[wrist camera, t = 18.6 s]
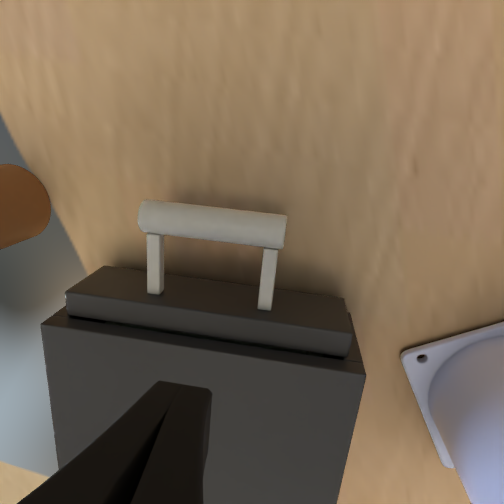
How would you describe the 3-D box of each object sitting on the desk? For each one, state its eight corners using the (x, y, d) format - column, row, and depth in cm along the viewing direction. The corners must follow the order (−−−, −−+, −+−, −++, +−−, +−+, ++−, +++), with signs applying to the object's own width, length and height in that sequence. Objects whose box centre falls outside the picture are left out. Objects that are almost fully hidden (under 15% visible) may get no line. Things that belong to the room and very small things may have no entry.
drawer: (99, 184, 17) (54, 195, 14) (360, 213, 16) (374, 232, 13) (114, 458, 23) (85, 509, 20) (306, 495, 22) (307, 556, 19)
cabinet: (103, 277, 20) (39, 323, 15) (350, 312, 18) (367, 375, 14) (114, 470, 25) (68, 552, 20) (310, 509, 23) (312, 607, 18)
